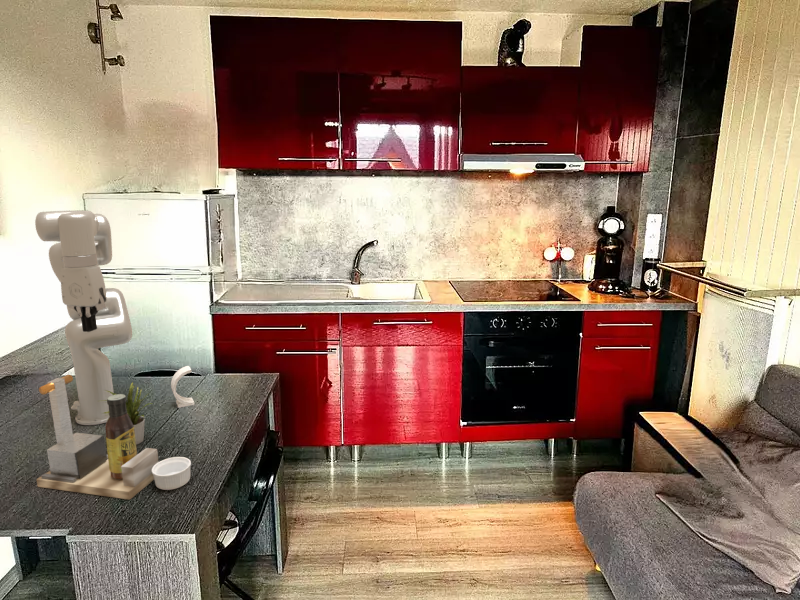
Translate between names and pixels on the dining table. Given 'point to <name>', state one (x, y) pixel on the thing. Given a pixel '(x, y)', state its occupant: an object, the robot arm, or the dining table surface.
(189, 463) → the ramekin
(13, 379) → the dining table surface
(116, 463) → the sauce bottle
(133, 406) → the house plant
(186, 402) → the white curved arc piece
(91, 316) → the robot arm
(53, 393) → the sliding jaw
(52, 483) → the clamp base
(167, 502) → the dining table surface
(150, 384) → the dining table surface
